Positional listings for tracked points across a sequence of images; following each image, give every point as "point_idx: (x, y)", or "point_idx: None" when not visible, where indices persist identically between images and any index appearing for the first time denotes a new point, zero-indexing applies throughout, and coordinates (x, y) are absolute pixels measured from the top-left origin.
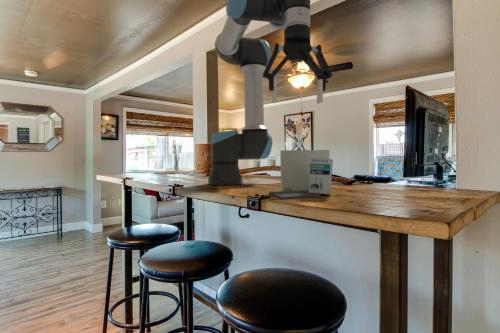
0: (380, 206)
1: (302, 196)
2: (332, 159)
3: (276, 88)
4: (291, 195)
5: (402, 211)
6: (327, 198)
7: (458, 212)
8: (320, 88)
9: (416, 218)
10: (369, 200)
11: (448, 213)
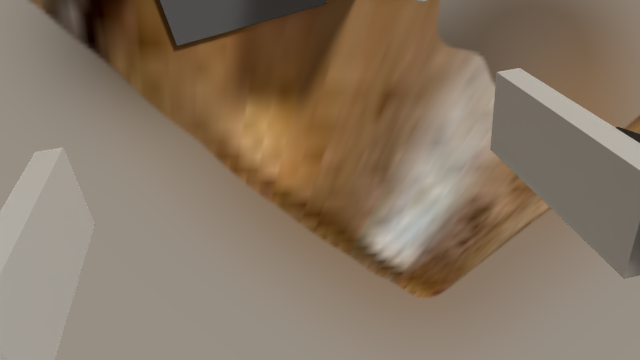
0: (421, 170)
1: (253, 23)
2: (424, 1)
3: (66, 309)
4: (213, 7)
5: (431, 221)
6: (338, 33)
7: (521, 226)
8: (561, 212)
9: (415, 273)
10: (445, 80)
11: (497, 234)
